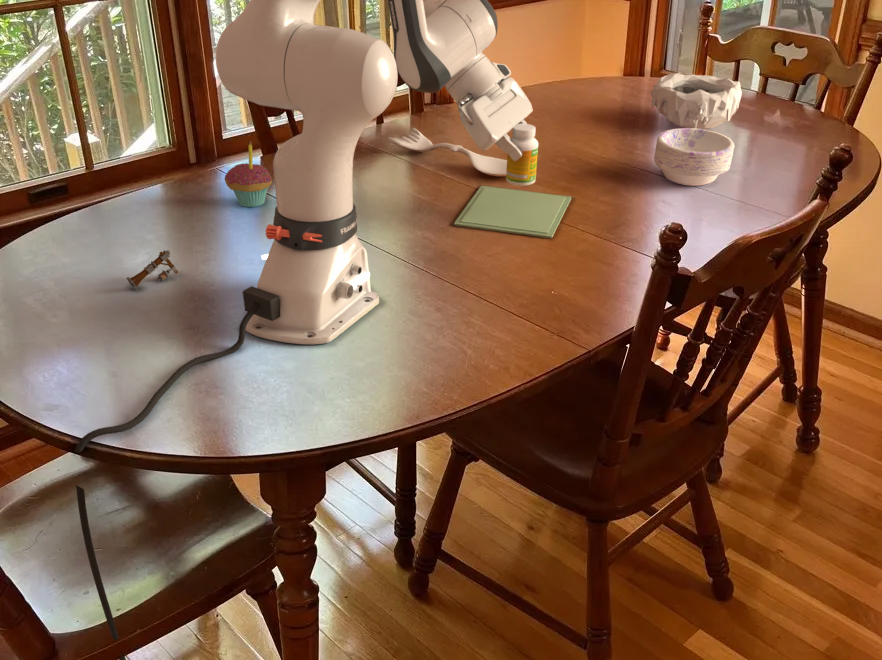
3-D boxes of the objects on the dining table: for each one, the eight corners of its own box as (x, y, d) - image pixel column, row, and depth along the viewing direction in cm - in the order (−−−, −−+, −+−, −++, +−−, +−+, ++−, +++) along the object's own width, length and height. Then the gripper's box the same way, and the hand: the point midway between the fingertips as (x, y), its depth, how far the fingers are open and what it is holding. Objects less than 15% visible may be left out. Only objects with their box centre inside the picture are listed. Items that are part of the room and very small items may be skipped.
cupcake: (283, 202, 173) (277, 138, 165) (246, 215, 167) (239, 149, 160) (255, 190, 177) (248, 127, 170) (218, 202, 172) (210, 137, 165)
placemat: (551, 238, 162) (551, 235, 162) (453, 225, 166) (453, 222, 165) (571, 198, 177) (571, 195, 177) (481, 187, 181) (481, 184, 181)
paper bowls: (696, 197, 179) (704, 157, 174) (636, 175, 188) (641, 136, 183) (742, 180, 187) (750, 141, 182) (681, 160, 196) (688, 122, 191)
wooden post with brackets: (184, 269, 147) (170, 248, 143) (146, 301, 145) (130, 280, 141) (179, 266, 148) (164, 245, 144) (140, 297, 146) (124, 276, 142)
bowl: (746, 140, 208) (755, 95, 202) (655, 138, 208) (662, 92, 202) (725, 113, 224) (733, 70, 218) (641, 111, 224) (647, 68, 218)
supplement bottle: (533, 187, 164) (537, 133, 158) (503, 184, 165) (506, 130, 159) (537, 177, 169) (541, 123, 163) (508, 174, 169) (511, 121, 163)
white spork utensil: (413, 141, 203) (413, 125, 200) (534, 175, 187) (535, 158, 185) (386, 151, 197) (386, 135, 195) (508, 187, 181) (509, 170, 179)
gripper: (466, 91, 151) (519, 159, 154) (509, 62, 166) (556, 125, 169) (441, 115, 155) (492, 181, 158) (485, 85, 170) (531, 145, 173)
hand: (526, 152), depth 163 cm, fingers closed on supplement bottle, 5 cm apart
